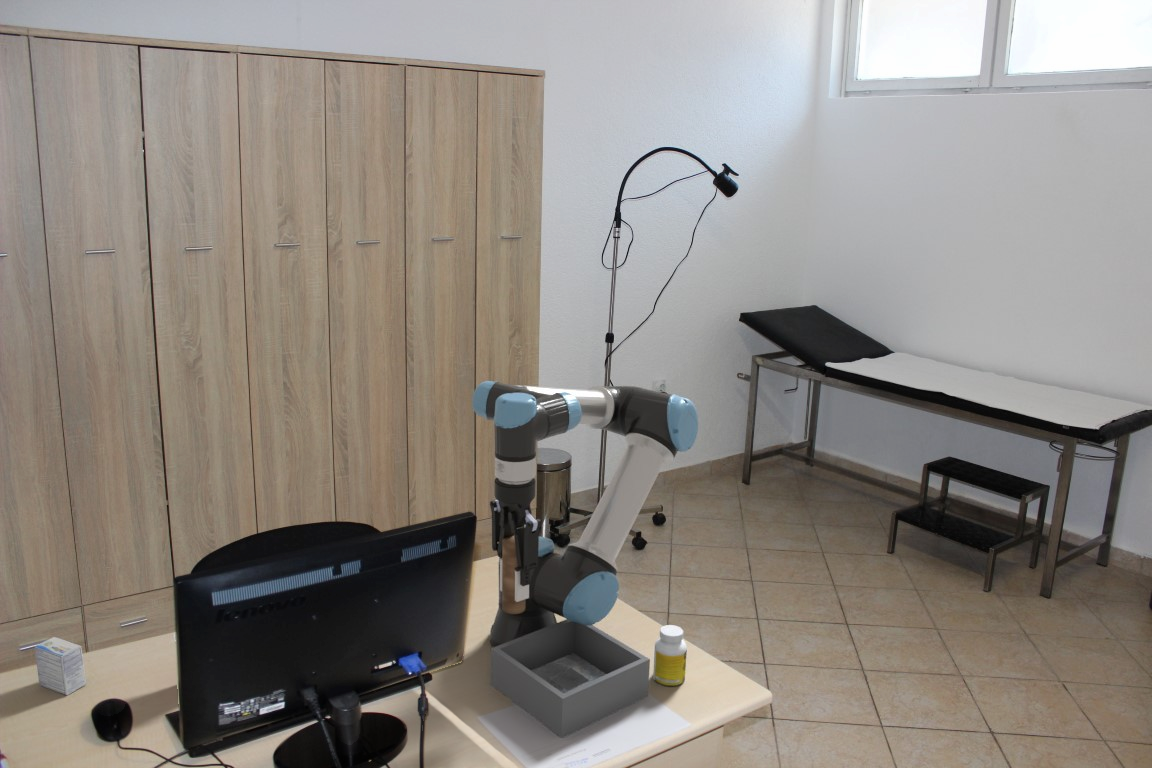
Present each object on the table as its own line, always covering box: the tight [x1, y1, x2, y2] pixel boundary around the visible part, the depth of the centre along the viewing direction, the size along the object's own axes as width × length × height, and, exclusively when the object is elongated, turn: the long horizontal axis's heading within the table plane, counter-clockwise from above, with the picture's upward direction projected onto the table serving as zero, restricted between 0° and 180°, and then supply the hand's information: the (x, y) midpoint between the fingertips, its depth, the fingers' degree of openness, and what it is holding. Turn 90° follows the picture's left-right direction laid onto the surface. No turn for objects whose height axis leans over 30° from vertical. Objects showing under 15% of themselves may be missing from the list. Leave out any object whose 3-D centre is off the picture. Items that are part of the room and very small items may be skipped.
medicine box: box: [34, 636, 87, 696], centre depth 181 cm, size 8×4×9 cm, turn 65°
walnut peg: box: [502, 536, 525, 614], centre depth 176 cm, size 4×4×14 cm
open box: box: [490, 618, 651, 739], centre depth 183 cm, size 22×22×9 cm
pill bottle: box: [652, 624, 688, 688], centre depth 188 cm, size 6×6×12 cm
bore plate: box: [531, 653, 606, 693], centre depth 184 cm, size 14×14×2 cm
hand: (514, 593), depth 177 cm, fingers closed on walnut peg, 4 cm apart
